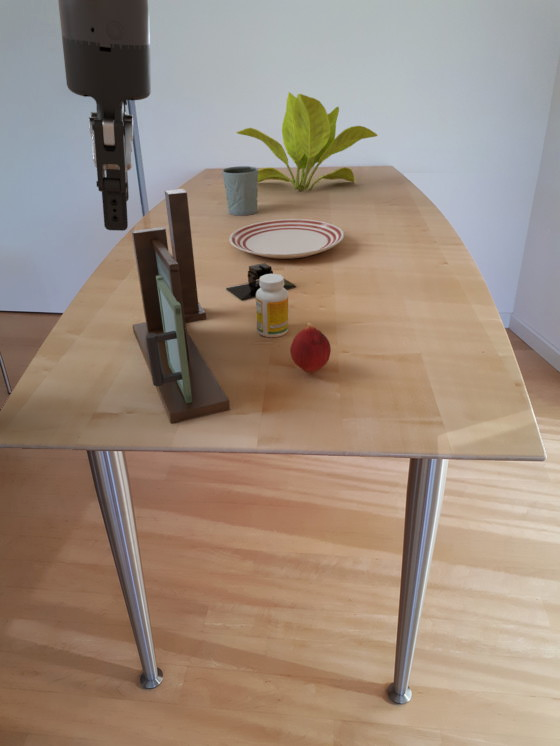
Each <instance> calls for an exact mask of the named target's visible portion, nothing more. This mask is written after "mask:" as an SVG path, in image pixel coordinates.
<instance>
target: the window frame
mask: <svg viewBox="0 0 560 746" xmlns="http://www.w3.org/2000/svg"><path fill="white" fill-rule="evenodd" d="M130 232H131V239H132V244H133V250H134V257H135V263H136V268H137V269H136V271H137V274H138V281H139V289H140V293H141V300H142V307H143V313H144V319H145V322H139V323H133V324H132V330H133V334H134V336H135V339H136V342H137V344H138V346H139V349H140V351H141V354H142V356H143V359H144V361H145V364H146V366H147V368H148V371H149V373H150V376H151V377H152V375H151V368H150V362H149V356H148V350H147V344H146V338H145V336H146V335H147V334H150V333H155V334H160V333H164V330H163V323H162V316H161V309H160V302H159V295H158V288H157V281H156V276H159V275H162V277H163V280H164V282H165V283H166V285H167V286H168V288H169V289H170V291H171V293H172V294H173V296H174V297H175V299H176V301H177V302H179V303H180V305H181V312H182V320H183V329H184V337H185V345H186V353H187V362H188V370H189V378H190V386H191V395H192V402H191V403H186V401H185V398H184V396H183V393H182V391H181V389H180V387H179V385H178V383H177V381H173V382H168V383H164V384H163V385H162V386H155V388H156V390H157V393H158V395H159V399H160V401H161V403H162V405H163V407H164V410H165V412H166V415H167V417H168V419H169V422H170V424H174V423H179V422H183V421H187V420H192V419H195V418H199V417H204V416H208V415H212V414H216V413H220V412H221V413H222V412H226V411H229V410H230V409H231V408H230V400H229V397H228V396H227V395H226V393H225V391H224V389H223V388H222V387H221V385H220V382H218V380H217V378H216V376H215V375H214V373H213V372H212V370H211V368H210V367H209V365H208V363H207V361H206V359H205V358H204V356H203V355H202V353H201V351H200V349H199V348H198V347H197V345H196V343H195V341H194V340H193V338H192V337H191V335H190V333H189V332H188V330H187V327H186V323H185V318H184V310H183V302H182V293H181V285H180V276H179V268H178V263H177V262H176V261H175V259H174V258H173V256H172V253H170V251H169V244H168V243H169V242H168V236H167V229H166V228H165V227H164V226H160V227H152V228H145V229H137V230H131V231H130ZM158 346H159V352H160V359H161V366H162V372H163V375H167V374H172V370H171V368H170V367H169V365H168V358H167V351H166V344H165V341H161V342H158Z"/></svg>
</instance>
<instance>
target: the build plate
mask: <svg viewBox="0 0 560 746" xmlns="http://www.w3.org/2000/svg"><path fill="white" fill-rule="evenodd" d="M272 268H273V267H272V266H271V265H269V264H267V263H266V262H261V263H258V264H252V265H249V266H248V270H247V282H243V283H239V284H235V285H231V286H227V287H226V288H225V290H226V291H228V292H229V293H230V294H232V295H233V296H235V297H236V298H238V299H239V300H240V301H246V300H251V299H253V298H254V299H256V292H257V290H258V289H259V288H260V285H259V284H260V277H261V276H263V275H266V274H274V271H273V269H272ZM296 287H297V285H296V284H294V283H293V282H291V281H289V280H288V279H285V278H284V286H283V288H285V289H286V290H287V291H288V290H291V289H294V288H296Z"/></svg>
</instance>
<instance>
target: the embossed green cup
mask: <svg viewBox="0 0 560 746" xmlns="http://www.w3.org/2000/svg"><path fill="white" fill-rule="evenodd" d="M258 170H259V169H258V168H257V167H256V166H250V165H249V166H248V165H239V166H230V167H226V168H224V169H222V171H221V173H222V179H223V185H224V188H225V197H226V201H227V202H226V203H227V204H226V205H227V212H228V214H230V215H232V216H241V217H243V216H251V215H255V214H256V213H258V183H259V182H258Z"/></svg>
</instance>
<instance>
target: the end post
mask: <svg viewBox="0 0 560 746" xmlns="http://www.w3.org/2000/svg"><path fill="white" fill-rule="evenodd" d="M164 198H165V207H166V215H167V222H168V223H167V224H168V230H169V239H170V247H171V255H172V257H173V258H174V259H175V261H176V262H177V263H178V268H179V276H180V285H181V293H182V302H183V310H184V318H185V324H186V323H190V322H196V321H201V320H206V319H207V312H206V311H205V310H204V308H203V306H202V305H201V304H200V303H199V296H198V288H197V275H196V266H195V261H194V260H195V257H194V249H193V247H194V246H193V237H192V228H191V218H190V217H191V216H190V209H189V198H188V192H187V191H186V190H185V189H184V188H177V189H176V188H175V189H167V190H164Z"/></svg>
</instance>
